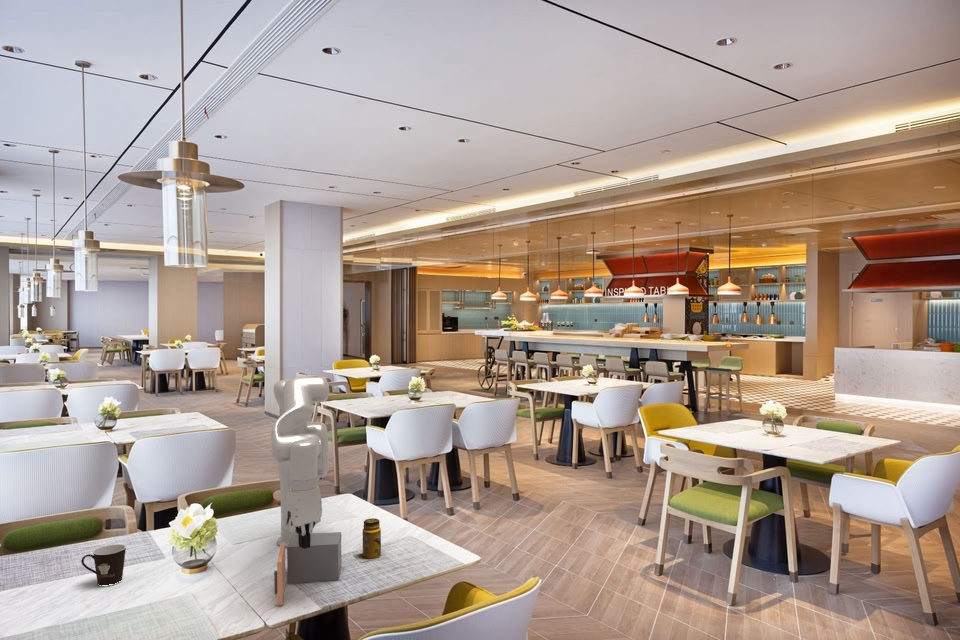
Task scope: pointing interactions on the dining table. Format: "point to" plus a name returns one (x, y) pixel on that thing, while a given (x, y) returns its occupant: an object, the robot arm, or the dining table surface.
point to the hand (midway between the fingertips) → (304, 547)
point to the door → (280, 575)
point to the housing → (314, 559)
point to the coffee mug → (108, 563)
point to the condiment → (371, 541)
